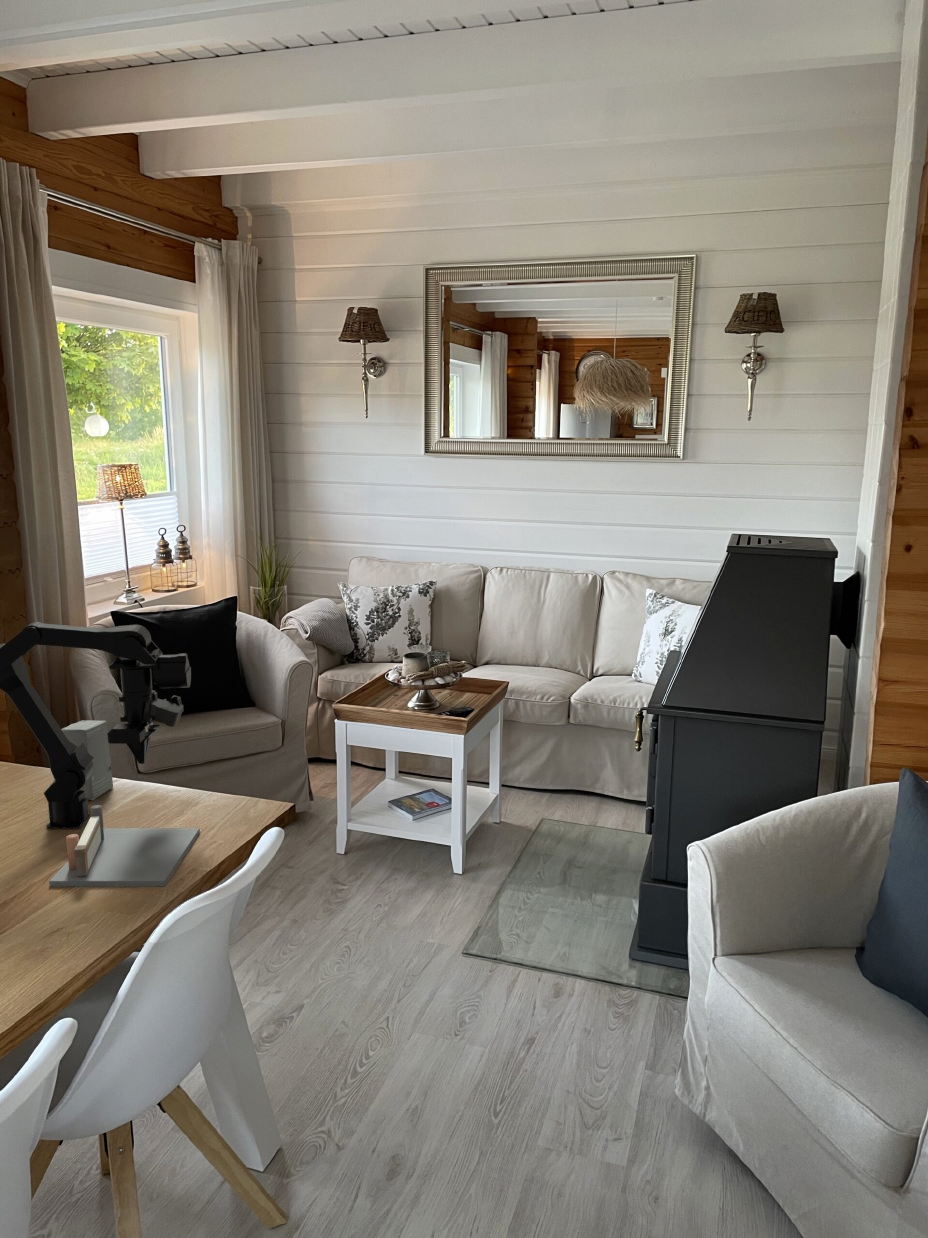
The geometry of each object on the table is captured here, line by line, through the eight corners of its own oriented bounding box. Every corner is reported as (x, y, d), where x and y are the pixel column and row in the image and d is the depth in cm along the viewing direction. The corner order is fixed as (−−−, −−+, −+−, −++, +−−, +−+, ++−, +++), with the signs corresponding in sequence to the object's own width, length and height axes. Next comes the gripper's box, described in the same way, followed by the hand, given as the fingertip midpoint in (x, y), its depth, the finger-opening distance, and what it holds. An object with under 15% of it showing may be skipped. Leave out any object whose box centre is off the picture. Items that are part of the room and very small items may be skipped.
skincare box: (93, 801, 195) (87, 731, 192) (63, 799, 197) (57, 729, 194) (115, 787, 203) (110, 719, 200) (87, 784, 205) (81, 717, 202)
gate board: (49, 886, 158) (46, 846, 156) (98, 833, 179) (95, 797, 178) (164, 886, 158) (162, 846, 157) (199, 833, 180) (197, 797, 178)
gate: (92, 841, 173) (90, 816, 172) (101, 840, 173) (99, 816, 172) (76, 876, 159) (74, 849, 158) (86, 875, 159) (84, 849, 158)
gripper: (162, 702, 172) (167, 780, 175) (191, 677, 190) (195, 748, 193) (103, 702, 172) (109, 780, 175) (137, 677, 190) (142, 748, 193)
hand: (142, 763), depth 184 cm, fingers closed
